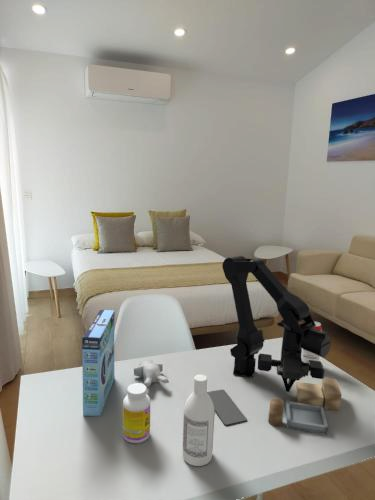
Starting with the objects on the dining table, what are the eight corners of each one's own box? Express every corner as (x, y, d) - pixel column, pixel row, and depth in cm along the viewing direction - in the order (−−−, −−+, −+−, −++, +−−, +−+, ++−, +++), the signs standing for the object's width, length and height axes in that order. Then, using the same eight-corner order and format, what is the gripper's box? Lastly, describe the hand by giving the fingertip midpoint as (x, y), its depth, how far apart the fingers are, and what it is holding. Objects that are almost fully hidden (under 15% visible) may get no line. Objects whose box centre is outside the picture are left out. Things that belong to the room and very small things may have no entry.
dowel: (268, 425, 96) (270, 405, 94) (268, 417, 99) (270, 397, 98) (282, 428, 95) (284, 407, 94) (281, 419, 98) (283, 399, 97)
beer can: (319, 371, 124) (324, 327, 120) (300, 369, 125) (304, 325, 122) (316, 363, 130) (321, 320, 126) (298, 360, 131) (302, 318, 128)
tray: (287, 427, 95) (287, 421, 95) (285, 407, 104) (286, 401, 103) (327, 434, 93) (328, 427, 93) (322, 413, 102) (323, 406, 101)
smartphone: (225, 425, 95) (203, 392, 108) (225, 428, 95) (202, 395, 108) (248, 420, 97) (223, 388, 111) (248, 423, 97) (223, 391, 111)
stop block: (324, 408, 104) (326, 392, 103) (320, 392, 111) (322, 377, 110) (339, 410, 103) (341, 394, 102) (334, 394, 111) (336, 379, 110)
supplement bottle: (148, 445, 87) (148, 397, 85) (120, 444, 87) (120, 395, 85) (151, 426, 94) (152, 381, 91) (125, 425, 94) (125, 380, 91)
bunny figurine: (158, 355, 123) (172, 372, 109) (158, 370, 124) (172, 389, 110) (130, 359, 120) (141, 377, 106) (131, 374, 120) (141, 394, 106)
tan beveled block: (297, 403, 106) (298, 394, 106) (295, 390, 113) (296, 381, 112) (322, 407, 105) (323, 398, 104) (319, 393, 112) (320, 384, 111)
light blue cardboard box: (99, 377, 116) (98, 309, 111) (115, 377, 116) (115, 309, 111) (82, 416, 97) (80, 336, 92) (101, 417, 97) (100, 337, 92)
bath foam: (195, 440, 89) (198, 366, 85) (218, 455, 85) (222, 377, 81) (176, 456, 84) (178, 377, 80) (199, 472, 80) (203, 390, 76)
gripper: (259, 351, 101) (255, 402, 104) (330, 361, 97) (323, 413, 100) (260, 335, 111) (256, 381, 114) (323, 343, 108) (318, 390, 111)
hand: (287, 391), depth 110 cm, fingers closed
